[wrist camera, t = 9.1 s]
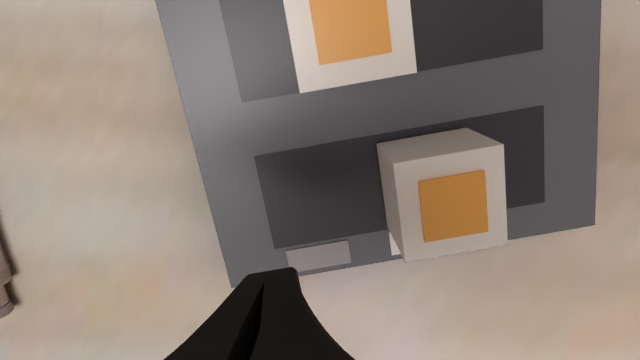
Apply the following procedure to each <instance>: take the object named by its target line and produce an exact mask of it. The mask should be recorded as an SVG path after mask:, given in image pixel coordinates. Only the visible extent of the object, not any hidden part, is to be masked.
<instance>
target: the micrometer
mask: <svg viewBox="0 0 640 360" xmlns="http://www.w3.org/2000/svg"><path fill="white" fill-rule="evenodd" d="M13 277H14V274H13V271H12V268H11V265H10V262H9V260H7V257H6V254H5V251H4V248H3V245H2V242H1V239H0V318H2V317H5V316H6V315H8V314H10V313H11V312H12V311H13V309H14V305H13V302H12V300H11V299H9V296H8V293H7V291H6V288H5V285H4V284H6V283H8V282H9V281H10V280H11V279H12V278H13Z"/></svg>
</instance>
